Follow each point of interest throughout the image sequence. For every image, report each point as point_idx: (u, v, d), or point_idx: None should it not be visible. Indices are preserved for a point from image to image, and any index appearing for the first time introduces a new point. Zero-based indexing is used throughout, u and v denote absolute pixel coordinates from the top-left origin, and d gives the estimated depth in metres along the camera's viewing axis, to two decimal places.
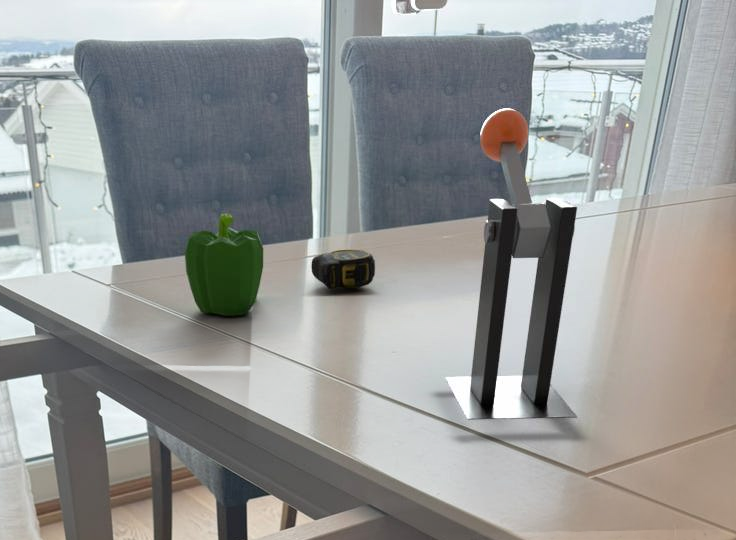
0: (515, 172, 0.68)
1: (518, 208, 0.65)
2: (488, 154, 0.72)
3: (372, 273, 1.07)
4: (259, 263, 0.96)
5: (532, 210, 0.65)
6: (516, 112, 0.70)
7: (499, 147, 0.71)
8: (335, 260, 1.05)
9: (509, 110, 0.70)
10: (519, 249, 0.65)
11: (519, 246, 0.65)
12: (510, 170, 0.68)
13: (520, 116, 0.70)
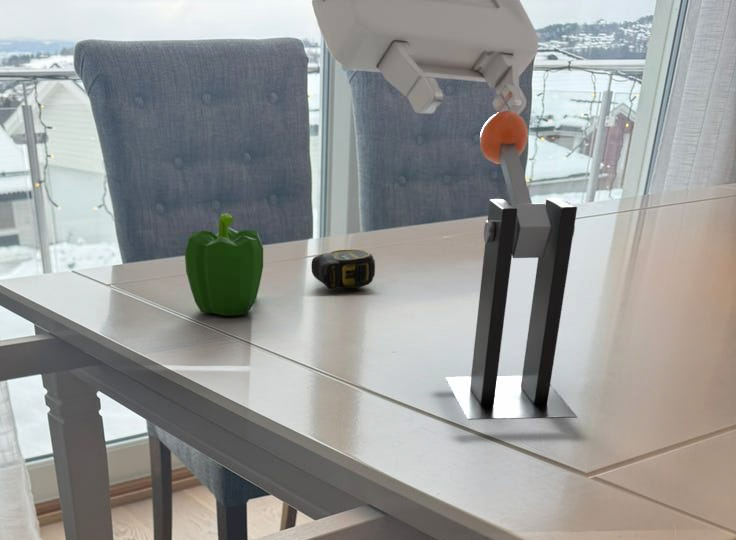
0: (515, 173, 0.68)
1: (518, 208, 0.65)
2: (488, 157, 0.72)
3: (372, 273, 1.07)
4: (259, 263, 0.96)
5: (532, 210, 0.65)
6: (515, 114, 0.70)
7: (499, 149, 0.71)
8: (335, 260, 1.05)
9: (508, 112, 0.70)
10: (519, 249, 0.65)
11: (519, 246, 0.65)
12: (510, 171, 0.68)
13: (519, 118, 0.70)
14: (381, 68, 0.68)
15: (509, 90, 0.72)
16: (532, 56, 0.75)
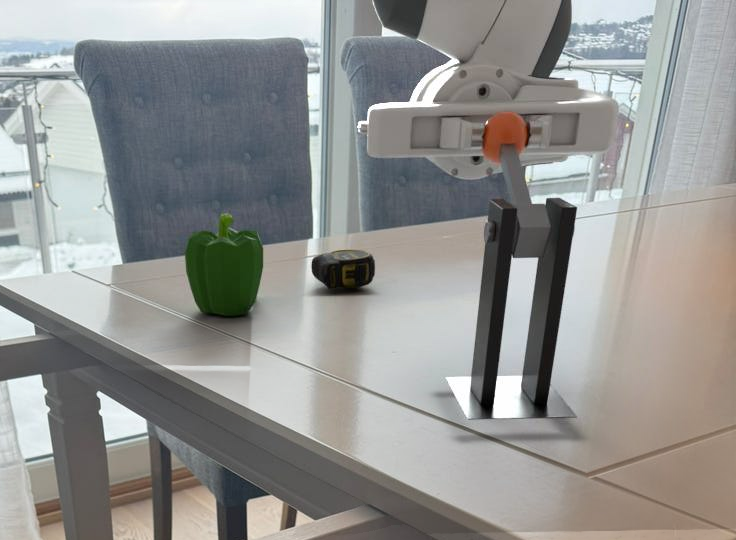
0: (515, 173, 0.68)
1: (518, 208, 0.65)
2: (488, 157, 0.72)
3: (372, 273, 1.07)
4: (259, 263, 0.96)
5: (532, 210, 0.65)
6: (515, 114, 0.70)
7: (499, 149, 0.71)
8: (335, 260, 1.05)
9: (508, 112, 0.70)
10: (519, 249, 0.65)
11: (519, 246, 0.65)
12: (510, 171, 0.68)
13: (519, 118, 0.70)
14: (440, 145, 0.75)
15: (527, 121, 0.71)
16: (609, 112, 0.74)
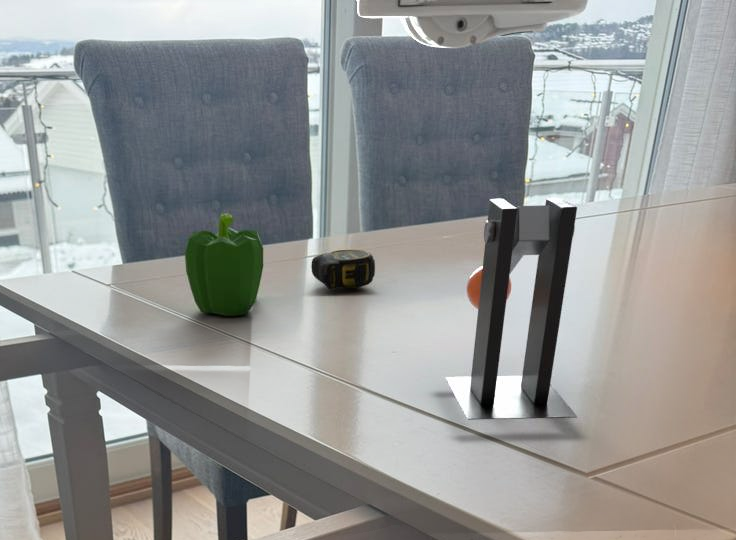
0: None
1: None
2: (477, 295, 0.76)
3: (372, 273, 1.07)
4: (259, 263, 0.96)
5: None
6: None
7: None
8: (335, 260, 1.05)
9: None
10: (523, 229, 0.64)
11: (522, 227, 0.64)
12: None
13: None
14: (400, 2, 0.81)
15: None
16: None
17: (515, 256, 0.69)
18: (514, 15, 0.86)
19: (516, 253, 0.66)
